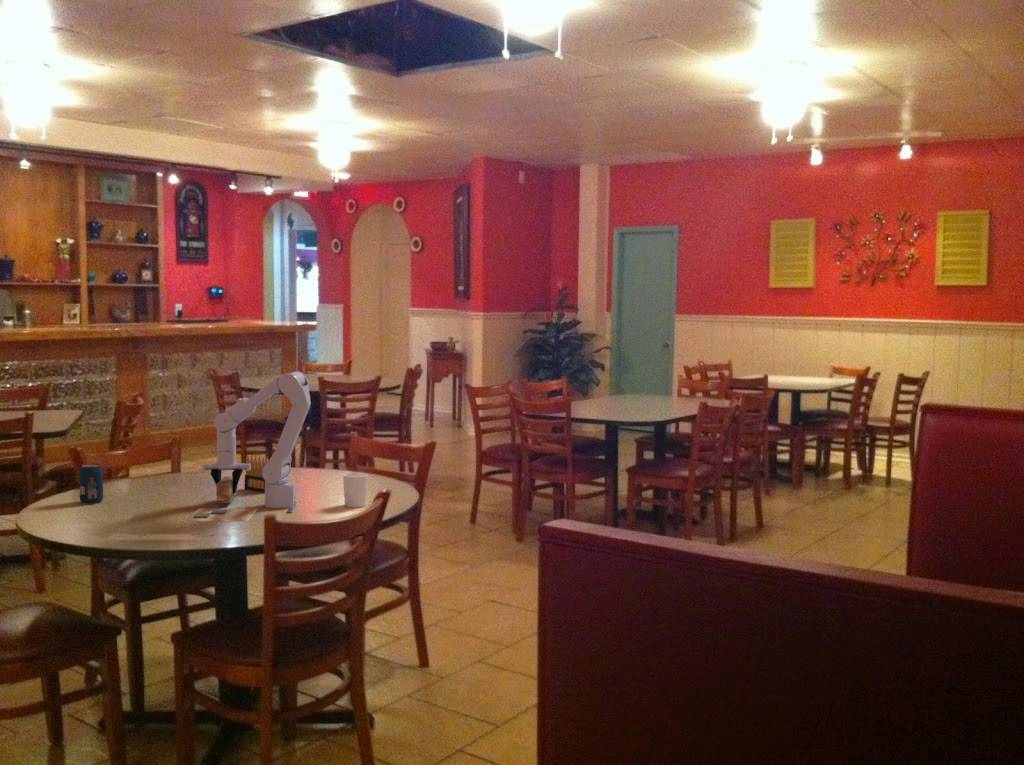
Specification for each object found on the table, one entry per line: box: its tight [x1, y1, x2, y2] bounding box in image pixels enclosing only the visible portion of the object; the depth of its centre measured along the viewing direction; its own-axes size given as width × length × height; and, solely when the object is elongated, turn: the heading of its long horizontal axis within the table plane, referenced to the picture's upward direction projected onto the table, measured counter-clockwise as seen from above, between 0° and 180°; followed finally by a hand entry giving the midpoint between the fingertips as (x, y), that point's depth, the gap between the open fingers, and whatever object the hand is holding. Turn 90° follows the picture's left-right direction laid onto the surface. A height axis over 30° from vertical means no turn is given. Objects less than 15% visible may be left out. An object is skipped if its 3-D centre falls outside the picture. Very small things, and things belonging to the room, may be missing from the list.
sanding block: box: [215, 476, 238, 504], centre depth 319 cm, size 4×12×6 cm, turn 4°
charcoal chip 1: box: [194, 513, 210, 518], centre depth 301 cm, size 4×4×1 cm
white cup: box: [342, 472, 369, 508], centre depth 326 cm, size 8×8×10 cm
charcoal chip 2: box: [211, 508, 228, 514], centre depth 306 cm, size 4×4×1 cm
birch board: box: [185, 508, 258, 522], centre depth 304 cm, size 18×16×2 cm
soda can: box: [78, 463, 104, 505], centre depth 323 cm, size 7×7×12 cm
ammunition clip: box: [244, 454, 270, 494], centre depth 345 cm, size 11×2×12 cm, turn 60°
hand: (227, 492), depth 319 cm, fingers closed on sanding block, 4 cm apart
